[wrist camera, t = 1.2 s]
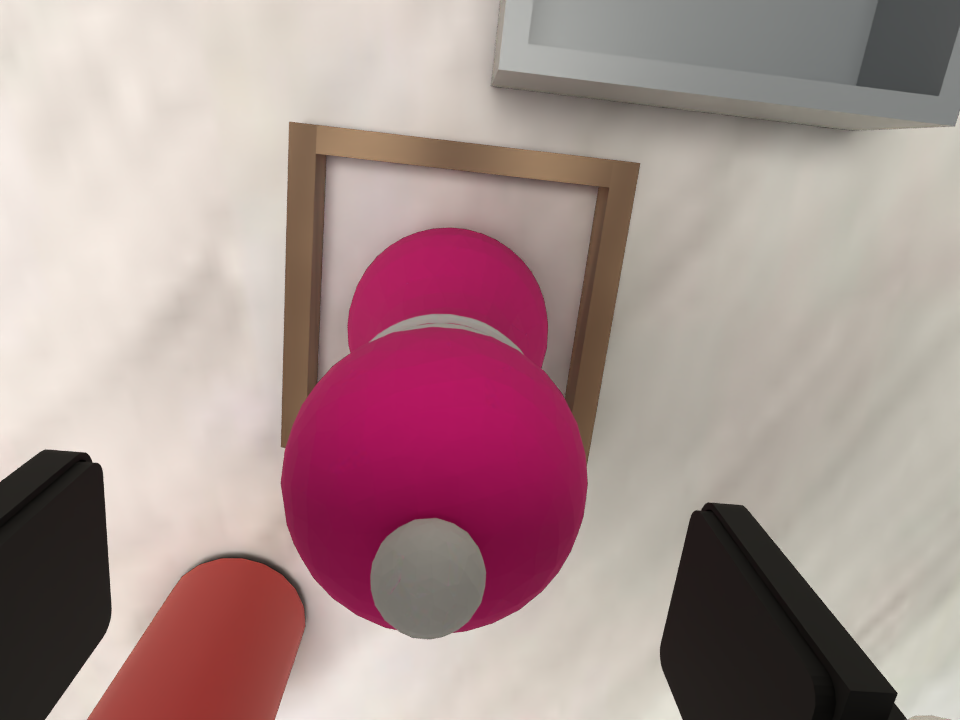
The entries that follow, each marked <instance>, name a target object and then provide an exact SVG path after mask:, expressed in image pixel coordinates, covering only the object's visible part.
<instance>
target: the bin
mask: <svg viewBox="0 0 960 720" xmlns="http://www.w3.org/2000/svg"><path fill="white" fill-rule="evenodd" d="M491 86H495V87H503V88H511V89H520V90H528V91H536V92H544V93H552V94H560V95H568V96H576V97H585V98H593V99H601V100H609V101H617V102H625V103H633V104H641V105H649V106H658V107H666V108H674V109H682V110H690V111H698V112H706V113H714V114H722V115H731V116H739V117H747V118H755V119H763V120H771V121H779V122H787V123H795V124H804V125H812V126H820V127H828V128H836V129H844V130H852V131H857V130H880V129H903V128H927V127H950V126H955V124H956V121H957V118H958V115H959V111H960V0H500V8H499V17H498V26H497V36H496V45H495V54H494V63H493V72H492V81H491Z"/></svg>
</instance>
